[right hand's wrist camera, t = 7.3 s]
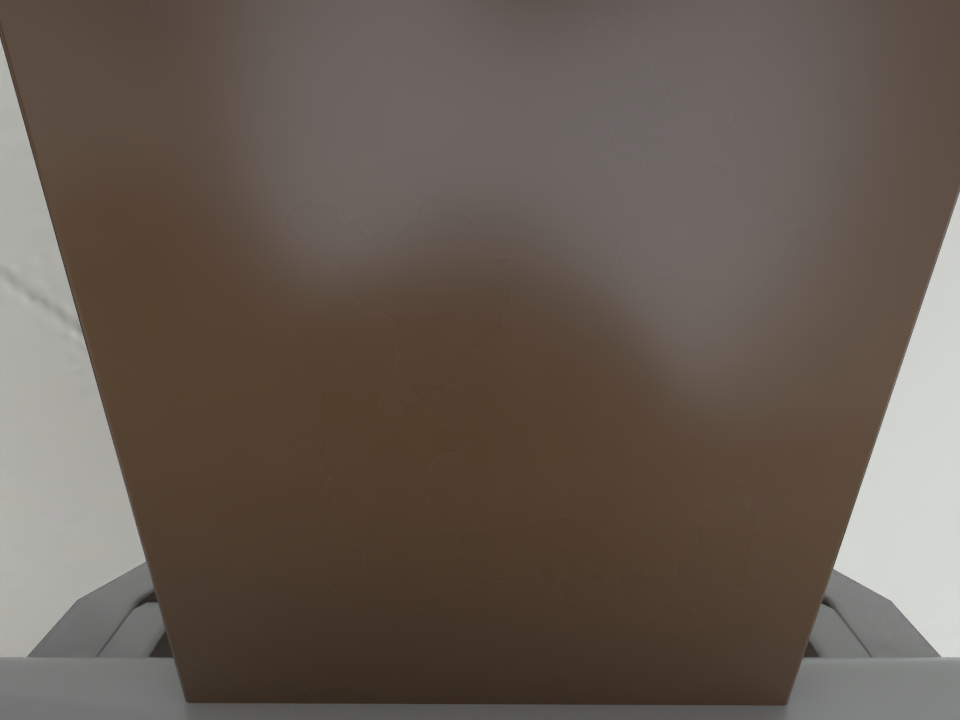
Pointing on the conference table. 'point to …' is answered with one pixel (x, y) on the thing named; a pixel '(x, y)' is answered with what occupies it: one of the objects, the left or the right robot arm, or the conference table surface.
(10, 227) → the conference table surface
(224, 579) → the bar
